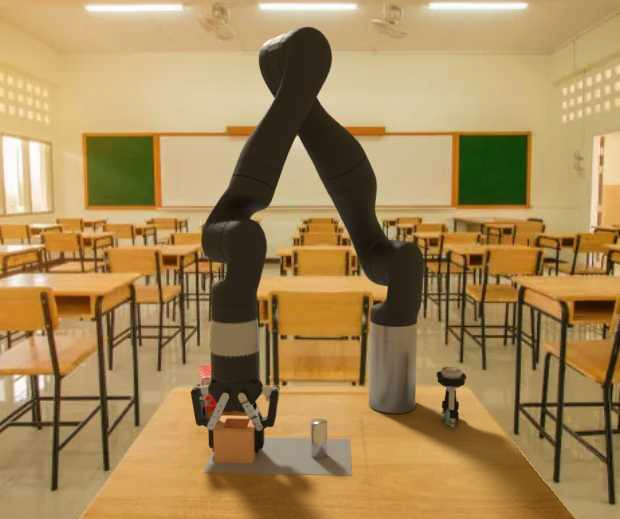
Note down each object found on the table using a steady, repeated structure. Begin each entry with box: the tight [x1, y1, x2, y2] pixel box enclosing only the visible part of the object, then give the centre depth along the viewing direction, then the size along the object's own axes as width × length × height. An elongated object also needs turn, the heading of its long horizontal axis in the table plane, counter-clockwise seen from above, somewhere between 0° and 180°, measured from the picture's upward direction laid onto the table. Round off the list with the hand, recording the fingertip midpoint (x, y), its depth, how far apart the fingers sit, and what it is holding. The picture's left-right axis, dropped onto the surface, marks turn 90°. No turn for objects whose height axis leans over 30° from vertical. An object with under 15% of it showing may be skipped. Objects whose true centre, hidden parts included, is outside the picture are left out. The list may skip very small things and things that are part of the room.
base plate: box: [203, 436, 353, 477], centre depth 88 cm, size 12×22×2 cm, turn 88°
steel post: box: [310, 418, 328, 459], centre depth 88 cm, size 3×3×7 cm
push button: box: [436, 366, 467, 428], centre depth 103 cm, size 7×5×10 cm
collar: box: [213, 414, 256, 463], centre depth 88 cm, size 6×6×5 cm
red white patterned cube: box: [198, 364, 217, 411], centre depth 110 cm, size 8×8×8 cm
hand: (236, 449), depth 89 cm, fingers closed on collar, 6 cm apart
